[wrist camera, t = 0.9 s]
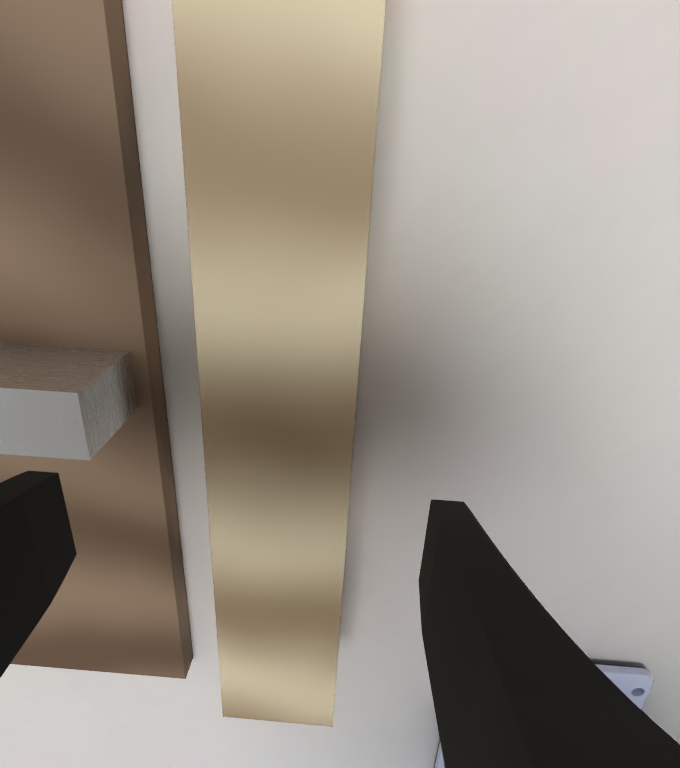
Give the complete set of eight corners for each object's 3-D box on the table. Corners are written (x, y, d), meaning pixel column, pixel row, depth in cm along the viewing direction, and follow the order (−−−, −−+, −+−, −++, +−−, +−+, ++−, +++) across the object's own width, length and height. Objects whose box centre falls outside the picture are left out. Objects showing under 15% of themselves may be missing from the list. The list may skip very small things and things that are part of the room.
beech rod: (339, 631, 22) (332, 726, 18) (247, 623, 22) (223, 716, 18) (392, -89, 12) (399, -198, 8) (223, -96, 12) (157, -205, 8)
